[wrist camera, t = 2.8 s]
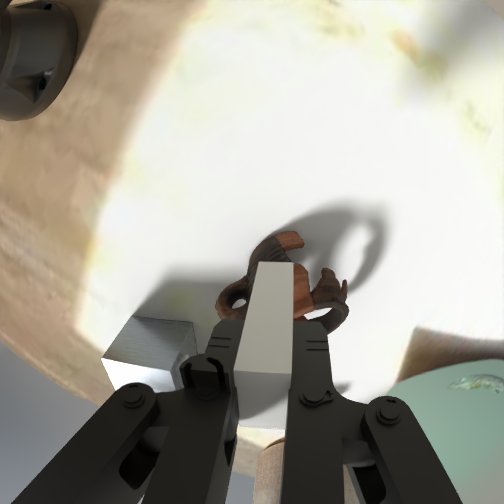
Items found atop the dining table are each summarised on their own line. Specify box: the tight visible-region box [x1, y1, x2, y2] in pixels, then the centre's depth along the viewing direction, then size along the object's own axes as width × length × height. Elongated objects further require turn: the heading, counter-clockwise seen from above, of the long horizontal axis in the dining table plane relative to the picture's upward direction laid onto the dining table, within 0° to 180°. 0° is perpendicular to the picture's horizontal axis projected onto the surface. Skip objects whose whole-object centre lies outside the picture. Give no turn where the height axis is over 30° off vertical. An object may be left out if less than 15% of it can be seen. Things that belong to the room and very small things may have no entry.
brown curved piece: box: [215, 231, 349, 335], centre depth 28 cm, size 12×10×8 cm
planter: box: [252, 442, 360, 504], centre depth 38 cm, size 18×18×16 cm
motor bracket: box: [101, 316, 239, 424], centre depth 32 cm, size 14×24×10 cm, turn 92°
